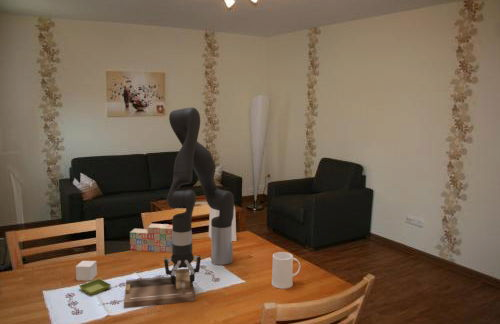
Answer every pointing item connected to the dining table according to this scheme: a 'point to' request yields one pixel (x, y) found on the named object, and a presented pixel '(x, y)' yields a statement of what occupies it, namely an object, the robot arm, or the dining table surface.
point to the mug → (283, 270)
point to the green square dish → (95, 286)
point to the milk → (215, 214)
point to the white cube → (86, 270)
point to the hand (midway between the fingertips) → (182, 283)
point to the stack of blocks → (152, 238)
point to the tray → (155, 292)
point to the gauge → (182, 279)
